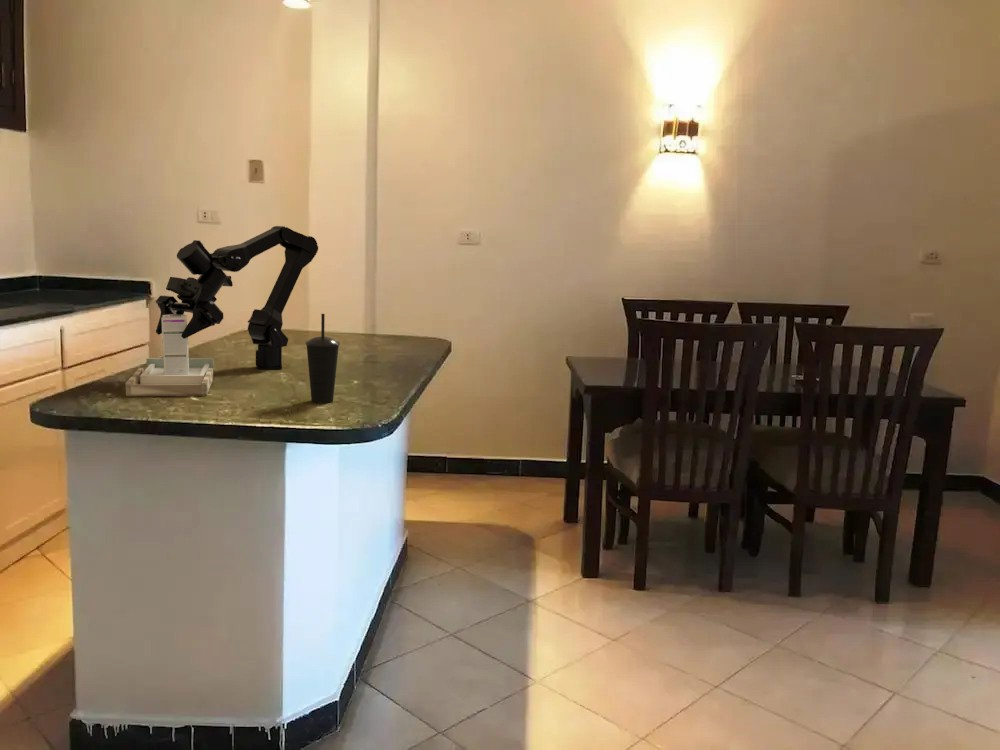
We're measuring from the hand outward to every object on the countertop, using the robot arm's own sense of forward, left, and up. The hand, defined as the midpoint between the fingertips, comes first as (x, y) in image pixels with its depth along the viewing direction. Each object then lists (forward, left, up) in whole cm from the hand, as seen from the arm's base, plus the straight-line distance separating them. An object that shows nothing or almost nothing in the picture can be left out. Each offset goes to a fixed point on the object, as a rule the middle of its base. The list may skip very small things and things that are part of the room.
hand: (169, 335), depth 198 cm
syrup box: (-1, -1, -10) cm, 10 cm away
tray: (-1, -3, -12) cm, 12 cm away
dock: (-1, +7, -12) cm, 13 cm away
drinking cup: (-35, +23, -12) cm, 43 cm away
